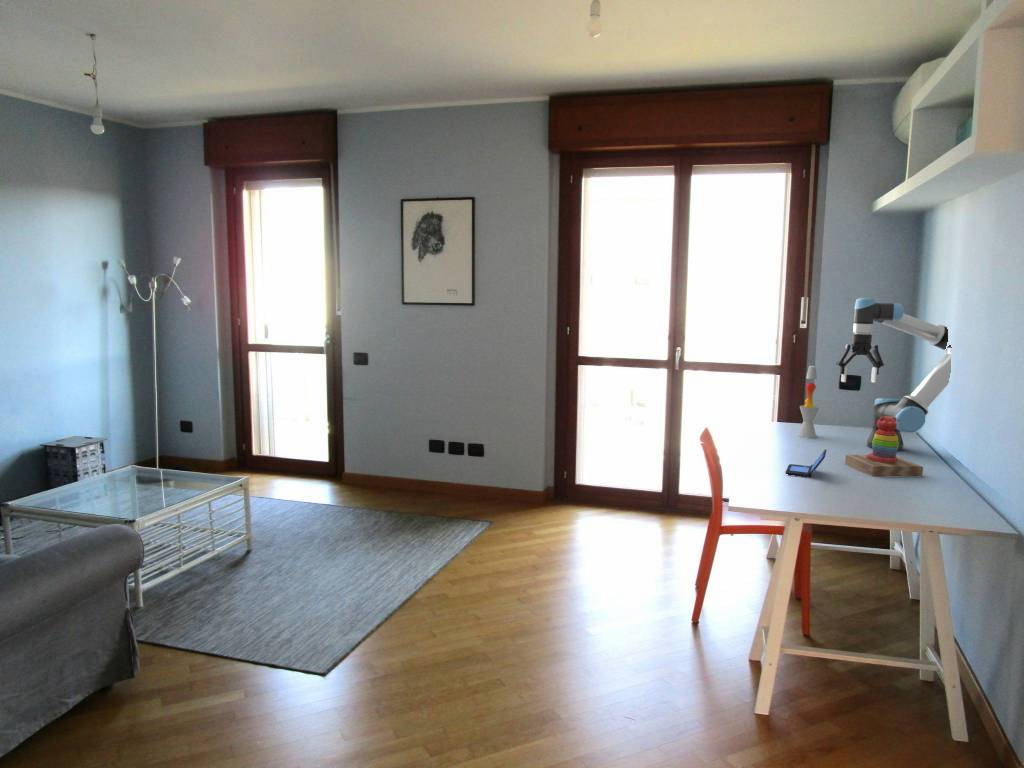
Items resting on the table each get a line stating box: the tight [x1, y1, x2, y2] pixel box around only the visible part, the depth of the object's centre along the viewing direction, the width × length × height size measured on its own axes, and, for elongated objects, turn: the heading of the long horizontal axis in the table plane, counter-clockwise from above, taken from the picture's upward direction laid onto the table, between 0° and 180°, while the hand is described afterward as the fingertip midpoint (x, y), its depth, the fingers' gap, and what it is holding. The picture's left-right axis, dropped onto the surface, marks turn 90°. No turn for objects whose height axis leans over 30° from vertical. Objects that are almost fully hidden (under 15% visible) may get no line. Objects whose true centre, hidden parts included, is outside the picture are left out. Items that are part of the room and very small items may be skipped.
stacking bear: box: [866, 417, 899, 463], centre depth 281 cm, size 11×10×18 cm
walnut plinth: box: [844, 454, 924, 477], centre depth 283 cm, size 20×20×4 cm
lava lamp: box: [797, 365, 820, 439], centre depth 349 cm, size 9×9×35 cm
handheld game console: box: [785, 448, 827, 479], centre depth 275 cm, size 16×13×9 cm
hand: (858, 382), depth 311 cm, fingers open, 13 cm apart
